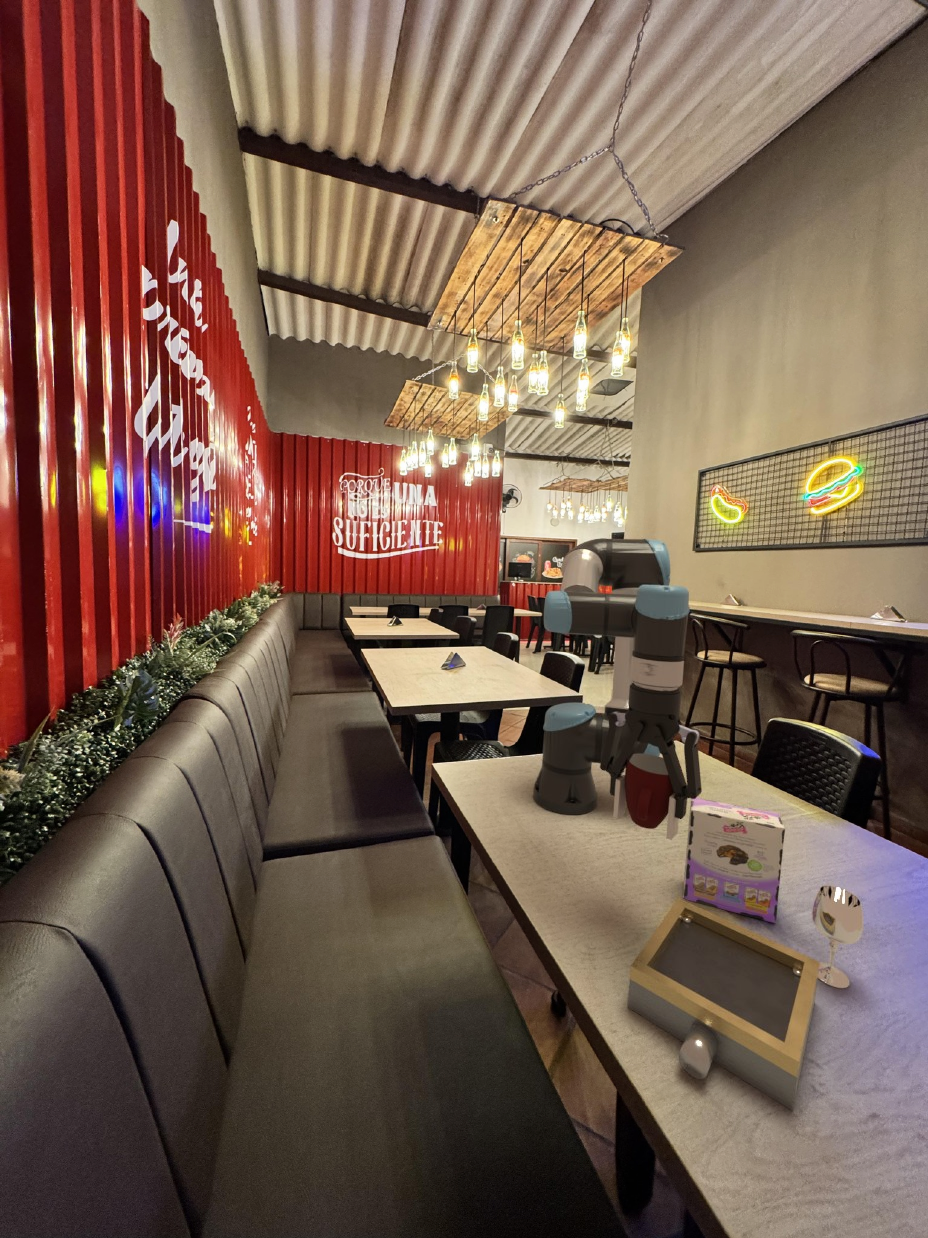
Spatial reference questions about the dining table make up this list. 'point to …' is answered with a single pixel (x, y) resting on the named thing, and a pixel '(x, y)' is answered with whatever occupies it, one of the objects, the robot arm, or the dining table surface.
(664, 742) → the robot arm
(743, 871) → the candy box
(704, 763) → the dining table surface
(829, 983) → the wineglass
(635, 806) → the mug
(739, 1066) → the shallow drawer tray
